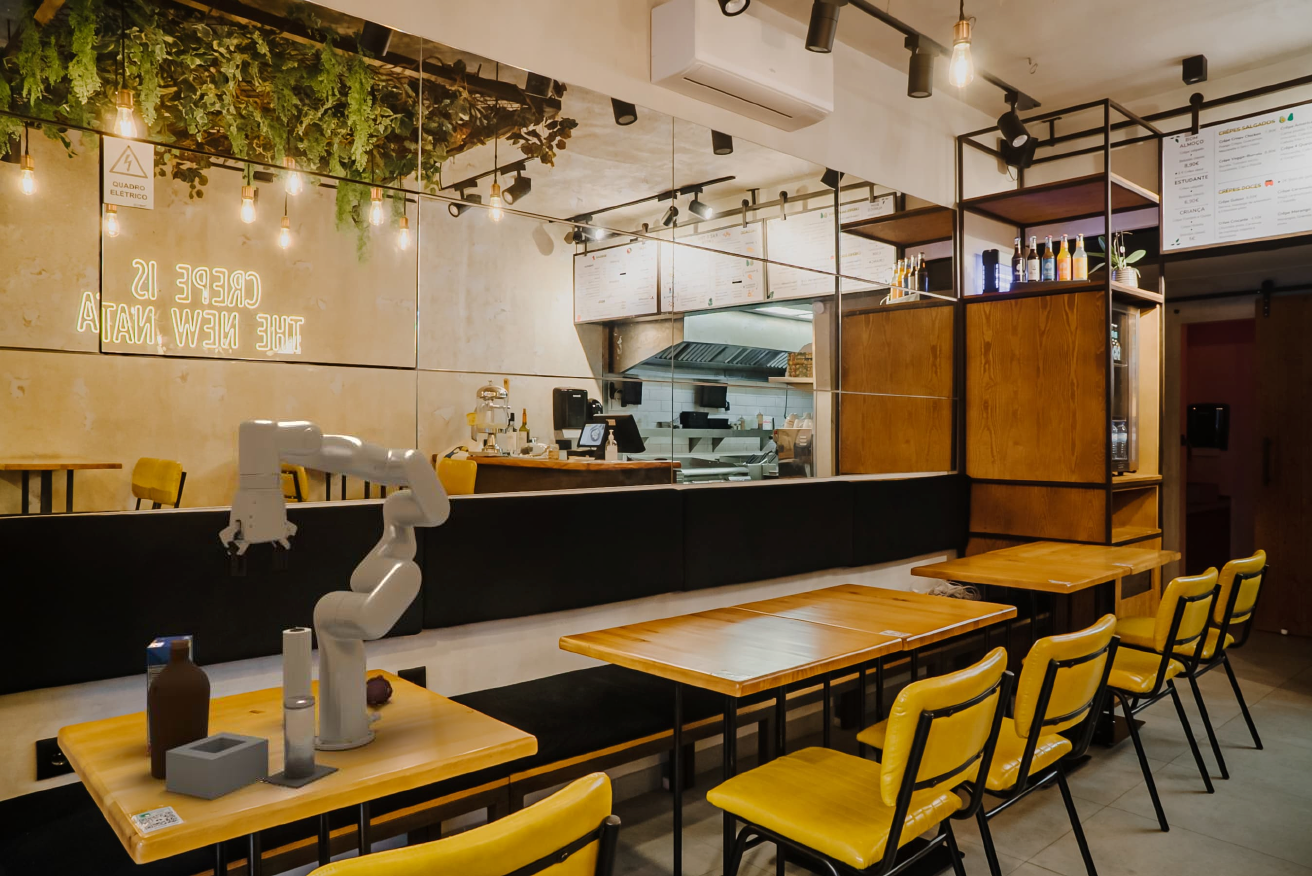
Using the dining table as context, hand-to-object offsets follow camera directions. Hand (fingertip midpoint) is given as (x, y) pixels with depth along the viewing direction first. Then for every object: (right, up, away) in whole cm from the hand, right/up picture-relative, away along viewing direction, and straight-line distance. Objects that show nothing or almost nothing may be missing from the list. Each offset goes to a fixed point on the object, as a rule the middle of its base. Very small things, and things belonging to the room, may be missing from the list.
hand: (259, 572), depth 164 cm
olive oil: (-16, -39, 0) cm, 42 cm away
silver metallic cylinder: (+9, -38, -4) cm, 39 cm away
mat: (+9, -38, -4) cm, 39 cm away
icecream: (+8, -40, +44) cm, 60 cm away
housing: (-5, -38, -7) cm, 39 cm away
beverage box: (-26, -39, +15) cm, 49 cm away
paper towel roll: (-5, -39, +30) cm, 49 cm away
